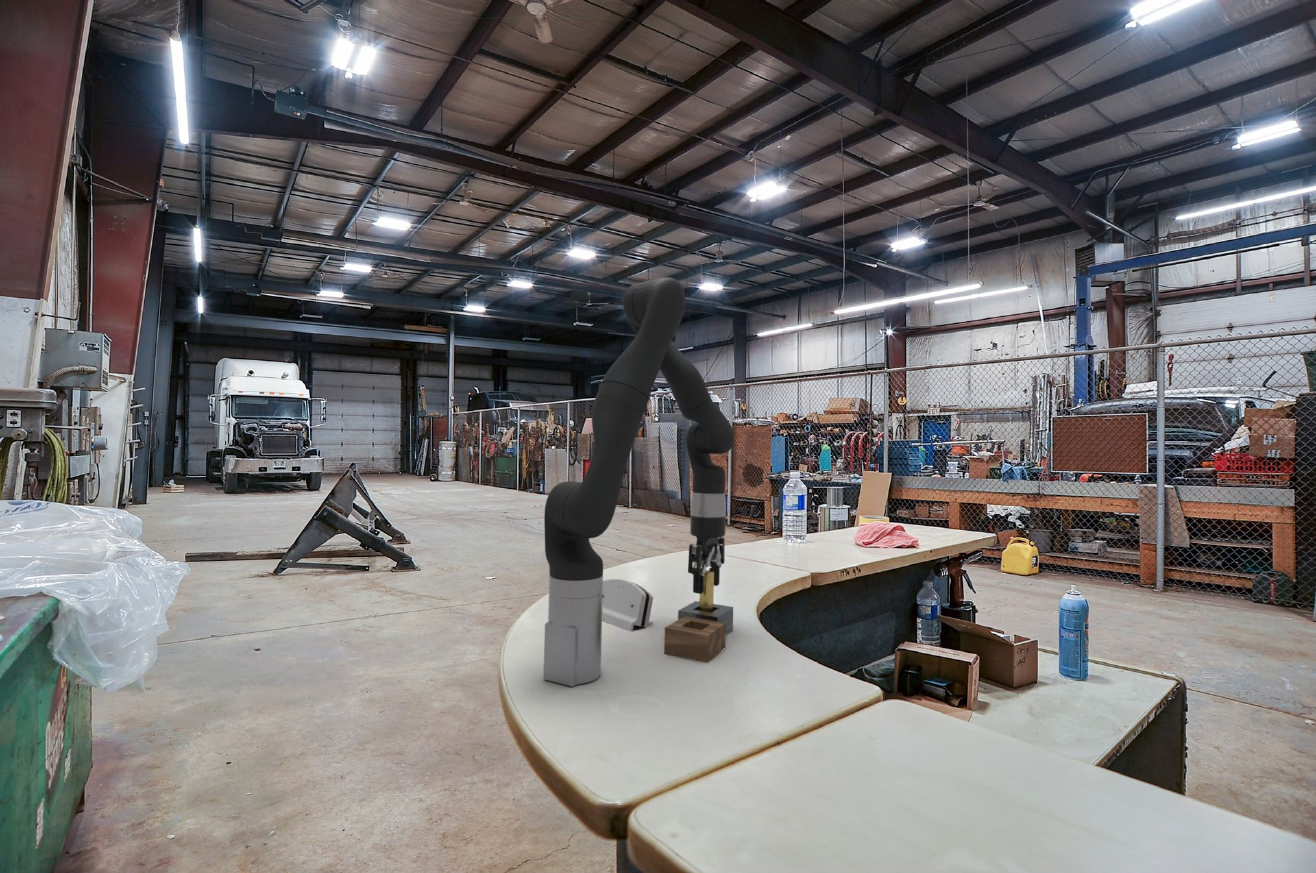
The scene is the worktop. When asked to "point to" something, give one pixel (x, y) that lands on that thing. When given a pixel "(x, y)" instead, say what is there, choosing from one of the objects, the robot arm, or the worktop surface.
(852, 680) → the worktop surface
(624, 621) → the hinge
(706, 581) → the pin
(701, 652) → the mount
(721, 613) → the socket block
